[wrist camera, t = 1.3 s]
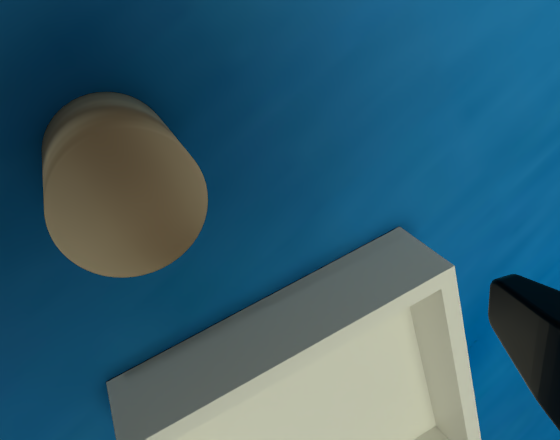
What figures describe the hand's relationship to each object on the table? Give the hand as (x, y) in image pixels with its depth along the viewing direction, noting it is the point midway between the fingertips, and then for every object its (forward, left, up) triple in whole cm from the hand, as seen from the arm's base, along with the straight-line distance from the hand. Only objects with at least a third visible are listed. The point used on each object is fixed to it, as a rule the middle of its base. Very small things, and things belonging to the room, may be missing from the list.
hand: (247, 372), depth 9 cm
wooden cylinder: (-1, 0, -12) cm, 13 cm away
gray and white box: (+2, -16, -12) cm, 21 cm away
